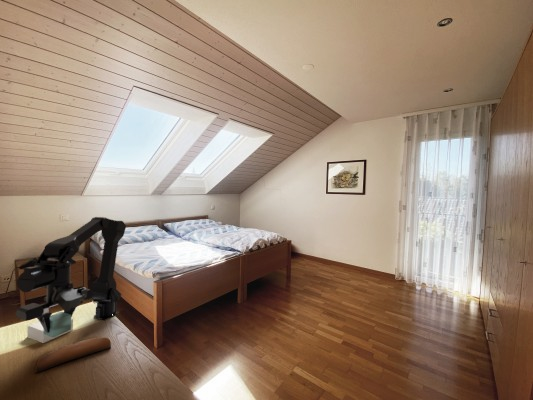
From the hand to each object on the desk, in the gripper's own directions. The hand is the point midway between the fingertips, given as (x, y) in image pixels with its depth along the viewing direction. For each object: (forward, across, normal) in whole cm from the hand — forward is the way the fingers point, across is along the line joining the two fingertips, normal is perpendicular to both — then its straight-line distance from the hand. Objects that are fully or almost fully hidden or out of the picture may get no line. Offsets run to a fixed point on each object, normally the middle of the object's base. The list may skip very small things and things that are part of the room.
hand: (57, 328), depth 79 cm
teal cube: (+1, 0, 0) cm, 1 cm away
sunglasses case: (+7, 0, -9) cm, 11 cm away
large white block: (+6, +4, +11) cm, 13 cm away
